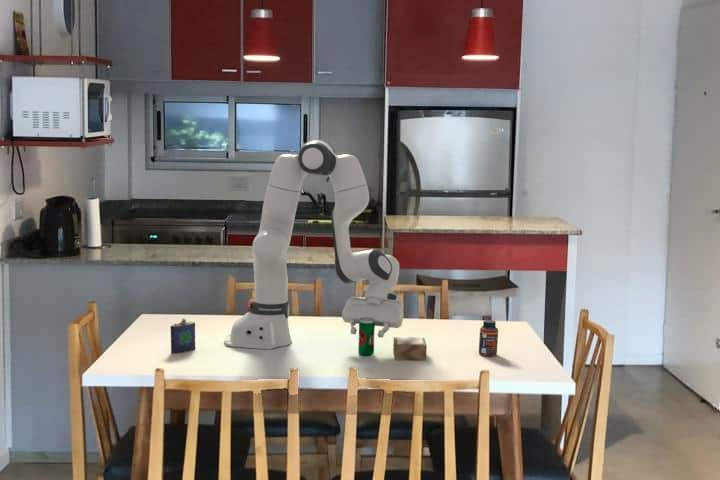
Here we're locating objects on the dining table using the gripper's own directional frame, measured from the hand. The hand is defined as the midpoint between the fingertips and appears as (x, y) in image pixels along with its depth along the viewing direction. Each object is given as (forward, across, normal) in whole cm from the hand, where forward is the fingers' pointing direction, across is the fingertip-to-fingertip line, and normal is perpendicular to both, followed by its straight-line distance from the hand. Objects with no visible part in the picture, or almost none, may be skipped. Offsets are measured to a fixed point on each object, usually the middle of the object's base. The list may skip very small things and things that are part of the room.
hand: (366, 334), depth 300 cm
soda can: (+5, 0, +5) cm, 7 cm away
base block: (+1, +13, +8) cm, 16 cm away
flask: (+20, -55, -10) cm, 59 cm away
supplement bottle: (-8, +36, +18) cm, 41 cm away
